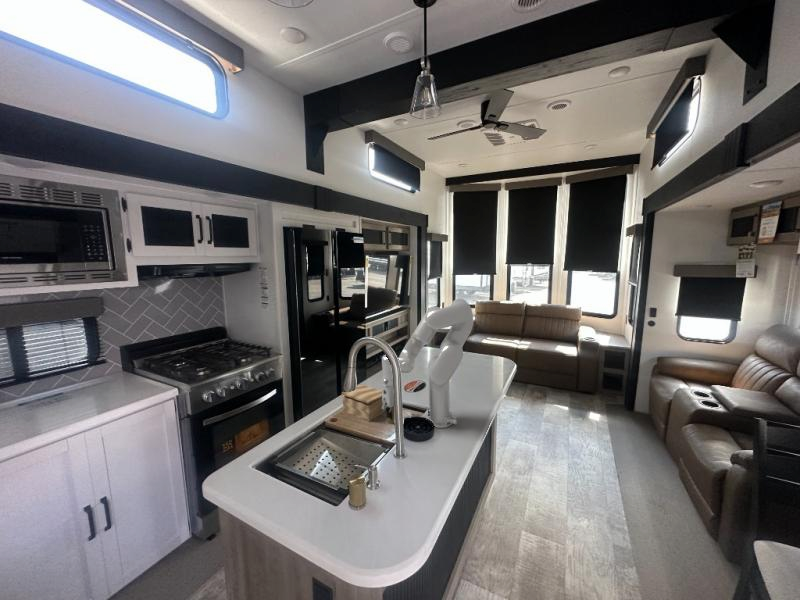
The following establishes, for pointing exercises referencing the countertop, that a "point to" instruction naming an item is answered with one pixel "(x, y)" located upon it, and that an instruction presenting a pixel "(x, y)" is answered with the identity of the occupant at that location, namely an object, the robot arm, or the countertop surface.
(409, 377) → the countertop surface
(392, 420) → the tan tapered cylinder
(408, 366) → the robot arm
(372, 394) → the box lid
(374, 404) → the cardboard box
